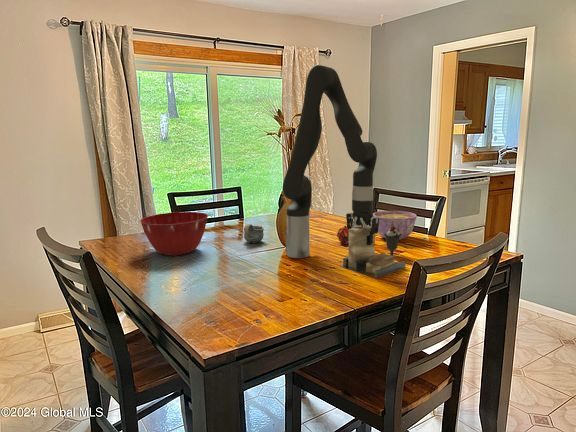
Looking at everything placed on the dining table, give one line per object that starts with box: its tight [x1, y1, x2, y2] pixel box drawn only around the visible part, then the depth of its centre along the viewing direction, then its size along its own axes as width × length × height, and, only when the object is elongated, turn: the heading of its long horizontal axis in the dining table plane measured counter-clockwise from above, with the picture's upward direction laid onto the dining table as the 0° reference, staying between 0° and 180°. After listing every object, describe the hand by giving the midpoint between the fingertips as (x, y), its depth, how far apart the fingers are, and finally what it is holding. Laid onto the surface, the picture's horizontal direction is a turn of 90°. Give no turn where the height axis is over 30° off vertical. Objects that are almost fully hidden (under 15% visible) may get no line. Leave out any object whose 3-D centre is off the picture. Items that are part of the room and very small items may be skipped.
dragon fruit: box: [336, 225, 349, 246], centre depth 191 cm, size 8×8×12 cm
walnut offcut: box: [370, 253, 395, 267], centre depth 147 cm, size 5×8×2 cm, turn 137°
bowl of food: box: [372, 210, 418, 241], centre depth 198 cm, size 20×20×12 cm
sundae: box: [384, 223, 401, 257], centre depth 165 cm, size 7×7×15 cm
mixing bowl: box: [139, 211, 209, 256], centre depth 182 cm, size 28×28×16 cm
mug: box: [243, 223, 265, 244], centre depth 194 cm, size 10×12×10 cm
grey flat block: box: [366, 259, 399, 274], centre depth 148 cm, size 6×10×3 cm, turn 129°
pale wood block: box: [348, 225, 376, 268], centre depth 154 cm, size 3×11×14 cm, turn 129°
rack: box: [339, 254, 406, 279], centre depth 152 cm, size 17×16×4 cm
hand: (361, 242), depth 154 cm, fingers open, 6 cm apart
